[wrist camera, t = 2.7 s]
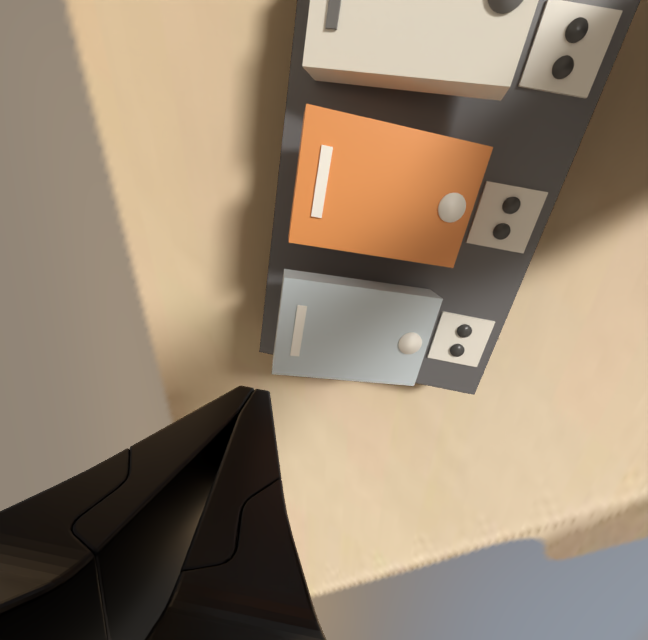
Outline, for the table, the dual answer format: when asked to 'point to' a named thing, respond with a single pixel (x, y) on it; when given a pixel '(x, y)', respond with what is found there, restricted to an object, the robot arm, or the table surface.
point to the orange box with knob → (383, 188)
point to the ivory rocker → (418, 44)
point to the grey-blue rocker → (352, 328)
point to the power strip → (497, 185)
